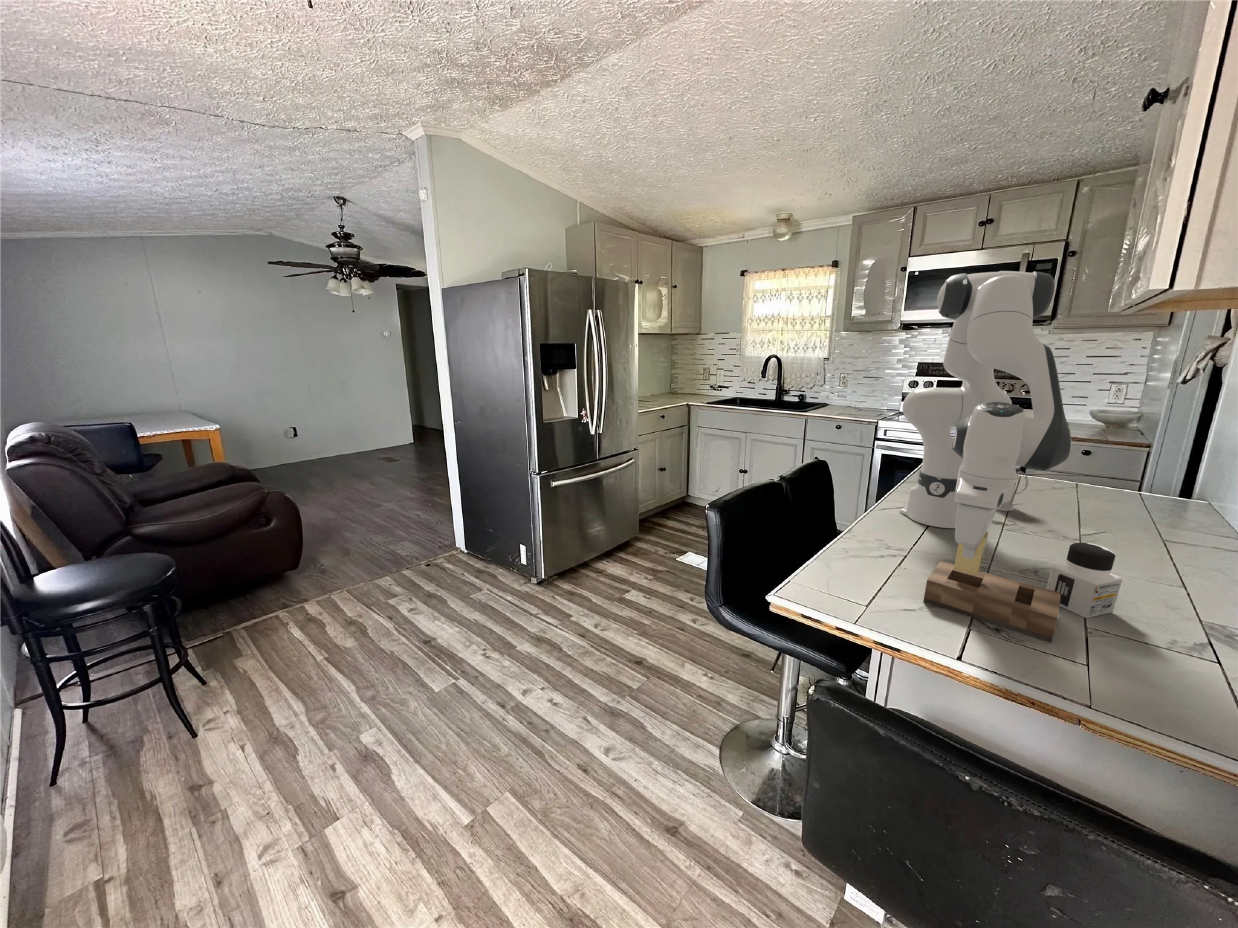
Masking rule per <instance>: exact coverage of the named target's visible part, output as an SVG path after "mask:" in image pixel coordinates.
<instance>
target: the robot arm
mask: <svg viewBox="0 0 1238 928" xmlns="http://www.w3.org/2000/svg"><path fill="white" fill-rule="evenodd" d="M1055 281H1056V280H1055V279H1054V278H1053V275H1051V274H1050V273H1045V272H1041V271H1033V272H1026V271H1014V270H999V271H988V272H978V273H977V272H975V273H969V274H967V273H959V274H958V273H957V274H954V275H951V276H950V277H948V278H947V279H945V281H944V283H943V285H942V286H941V288H940V290H939V292H938V295H937V298H936V304H937V310H938V313H939V314H940V315H941V317H942V318H946V319H949V320H954V322H953V325H952V327H951V331H950V334H949V337H948V342H947V346H946V350H945V353H944V356H943V357H944V358H943V362H942V364H943V368H944V369H945V372H947V373H948V374H949V375H951V376H953V378H954V377H955V379H959V380H960V381H962V384H961V387H925V388H919V389H913V390H911V391H910V392H909V393H908V394H907V395H906V397H904V400H903V402H902V414H903V416H904V418H905V419H906V421H907V422H908V423H909V424H911V425H912V426H914V428H915V429H916V430H917V432H918V433H919V435H920V437H921V440H922V444H923V456H922V465H921V470H920V471H919V473H918V475H917V484H916V485H915V486H913V487H911V489H910V491H909V496H908V501H907V505H906V506H904V507H902V508H900V511H899V513H901V514H903V515H905V516H907V517H908V518H909V519H911V520H913V521H915V522H917V523H920V524H923V525H927V526H930V527H935V528H943V529H954V540H955V542H956V543H957V544H963V548H964V549H963V557H965V558H969V559H973V557H974V555H975V551H976V547H978V546H979V544H980V542H981V540H982V538H983V537H984V535H985V533H986V532H988V529H989V528H990V526H991V525H992V522H993V520H994V519H995V514H996V511H997V510H996V509H998V508H1000V507H1001V505H1002V504H1003V503H1005V502H1009V501H1010V500H1011V497H1012V493H1013V488H1014V483H1016V480H1015V479H1016V478H1017V476H1016V474H1017V471H1016V470H1017V469H1016V468H1015V467H1016V466H1020V467H1023V468H1025V469H1026V468H1028V469H1033V470H1037V471H1043V472H1044V471H1047V470H1050V469H1052V468H1055V467H1057V466H1059V465H1061V464H1062V463H1064V462H1065V461H1067V460H1068V458H1069V457H1070V453H1071V449H1072V445H1073V441H1072V436H1071V435H1072V434H1071V431H1070V430H1071V429H1070V427H1069V424H1068V421H1067V418H1066V413H1065V409H1064V404H1063V398H1062V390H1061V387H1060V386H1061V385H1060V379H1059V374H1058V368H1057V364H1056V360H1055V356H1054V353H1053V351H1052V349H1051V347H1050V346H1049V345H1046V344H1044V343H1042V342H1041V341H1040V340H1039V338H1038V337H1037V336H1036V334H1035V331H1034V329H1033V321H1034V319H1037V318H1039V317H1040V316H1042V315H1043V314H1045V313H1047V311H1048V309H1049V307H1050V306H1051V305H1052V303H1053V300H1054V298H1055V295H1056V286H1055V284H1056V283H1055ZM995 369H996V370H999V371H1002V372H1005V373H1007V374H1010V375H1012V376H1015V377H1017V378H1018V379H1021V380H1022V381H1024V382H1025V383H1026V385H1027V386H1028V388H1029V392H1030V399H1031V405H1032V413H1033V417H1026V411H1025V409H1024V408H1023V407H1021V406H1019V405H1016V404H1013V403H1012V400H1011V397H1010V396H1009V395H1008V393H1006V392H1005V391H1004V390H1002V389H1001V387H999V385H998V383H997V381H996V379H995V375H994V370H995ZM952 428H955V434H954V437H952V435H951V429H952Z"/></svg>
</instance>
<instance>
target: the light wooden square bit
mask: <svg viewBox="0 0 1238 928" xmlns="http://www.w3.org/2000/svg"><path fill="white" fill-rule="evenodd" d="M988 537H989V531H986V533H985V535H984V537H983V538H982V540H981V542H980V544H979V546H978V547H976V551H975V555H974V557H973V559H969V558H965V557H963V549H964V548H963V544H959V543H957V544H958V545H957V550H956V555H955V561H954V570H958V571H962V572H965V573H969V574H973V575H976V576H978V574H979V572H980V571H981V570H982V566H983V563H984V561H983V560H984V555H985V552H986V548H987V547H986V546H987V543H988Z"/></svg>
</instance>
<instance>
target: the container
mask: <svg viewBox="0 0 1238 928" xmlns="http://www.w3.org/2000/svg"><path fill="white" fill-rule="evenodd" d="M1115 559H1116V554H1115V552H1114V551H1112V550H1111V549H1109V548H1107V547H1105V546H1103V545H1099V544H1095V543H1092V542H1091V543H1090V542H1075V543H1072V544H1070V545H1069V547H1068V551H1067V556H1066V559H1065V560H1066V561H1065V563H1060V564H1055V565H1052V566H1051V569H1050V572H1049V576H1048V580H1047V584H1046V588H1045V589H1048V590H1052V591H1056V592H1060V593H1061V598H1060V605H1059V607H1060V608H1063V609H1065V610H1067V611H1069V612H1071V613H1074V614H1076V615H1078V616H1081V617H1083V618H1085V619H1089V618H1092V617H1098V616H1101V615H1106V614H1110V613H1113V612H1114V610H1115V606H1116V603H1117V600H1118V596H1119V593H1120V589H1121V586H1122V585H1121V584H1122V582H1123V578H1122V576H1119V575H1116V574H1113V573H1112V570H1113V566H1114V564H1115V563H1114V562H1115Z"/></svg>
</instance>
